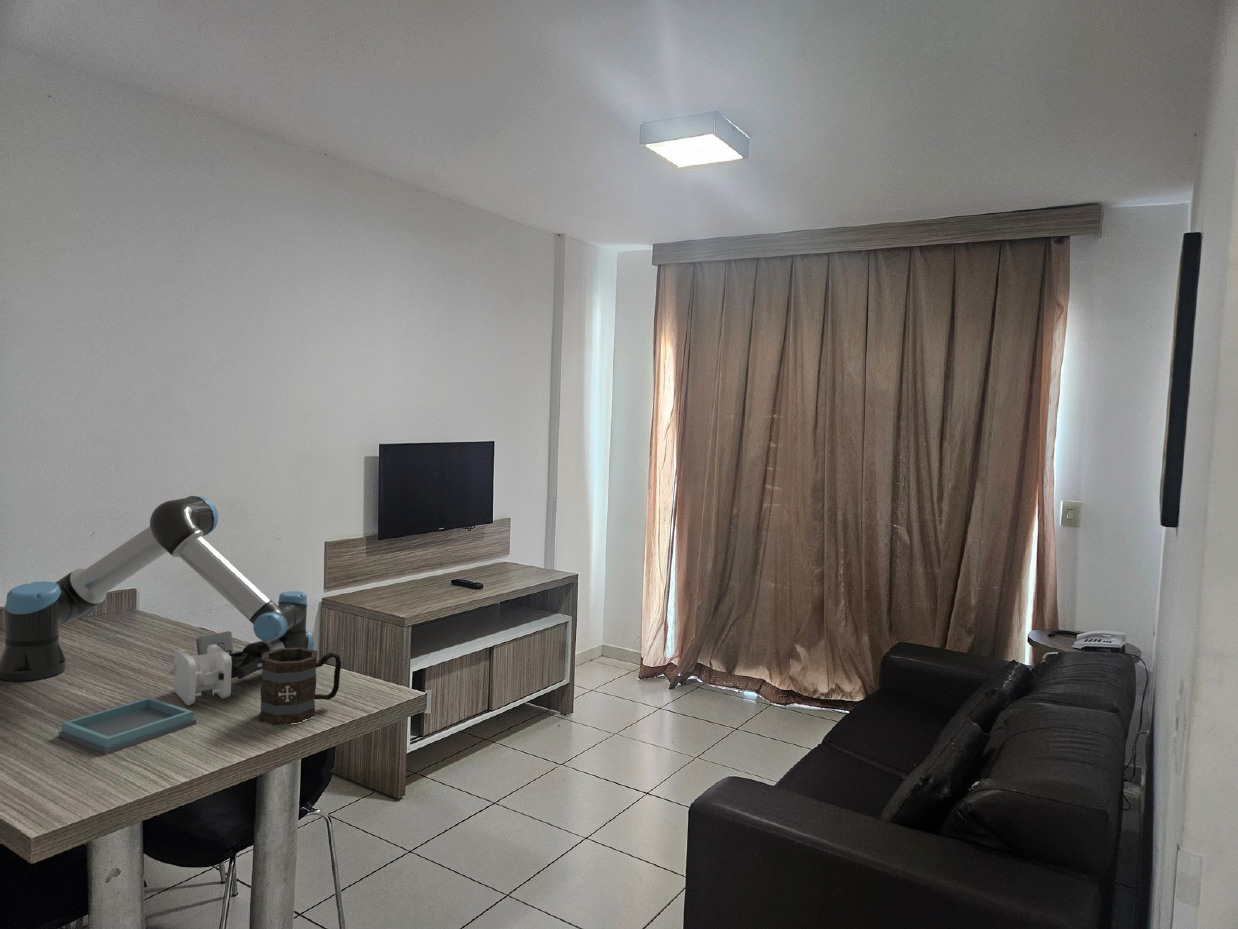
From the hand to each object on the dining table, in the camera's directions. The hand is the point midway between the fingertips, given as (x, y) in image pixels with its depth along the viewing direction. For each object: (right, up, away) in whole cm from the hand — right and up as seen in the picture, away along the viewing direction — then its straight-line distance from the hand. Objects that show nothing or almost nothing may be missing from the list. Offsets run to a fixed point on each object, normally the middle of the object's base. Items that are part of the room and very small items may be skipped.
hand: (189, 675), depth 204 cm
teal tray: (-4, -8, -19) cm, 21 cm away
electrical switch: (-9, -5, +29) cm, 31 cm away
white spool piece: (+1, -7, +4) cm, 8 cm away
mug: (+29, -9, -3) cm, 30 cm away
